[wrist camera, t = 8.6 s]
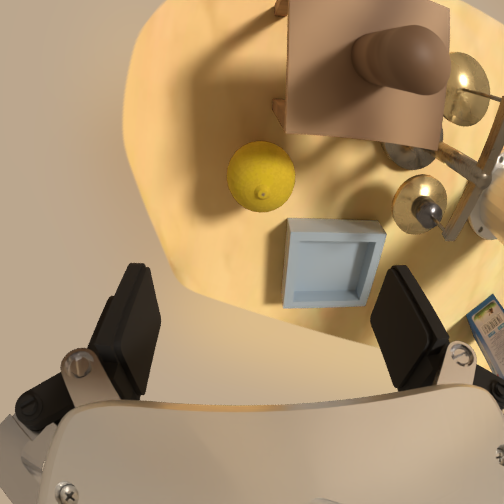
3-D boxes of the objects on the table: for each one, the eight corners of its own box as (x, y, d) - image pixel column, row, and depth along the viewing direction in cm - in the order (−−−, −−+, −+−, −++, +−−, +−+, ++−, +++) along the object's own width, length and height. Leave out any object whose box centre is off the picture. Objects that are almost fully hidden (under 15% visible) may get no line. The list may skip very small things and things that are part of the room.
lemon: (263, 198, 30) (267, 241, 23) (218, 165, 28) (207, 200, 21) (301, 157, 27) (318, 189, 21) (255, 120, 25) (257, 140, 19)
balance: (446, 61, 21) (545, 80, 9) (421, 213, 31) (485, 290, 19) (387, 43, 21) (481, 40, 9) (367, 210, 30) (422, 295, 19)
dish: (377, 220, 31) (386, 233, 29) (359, 290, 37) (365, 306, 34) (287, 218, 31) (290, 231, 29) (281, 292, 37) (283, 308, 34)
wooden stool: (383, 21, 19) (501, 4, 6) (377, 119, 25) (483, 180, 12) (274, 5, 19) (305, -66, 6) (272, 109, 25) (299, 158, 12)
